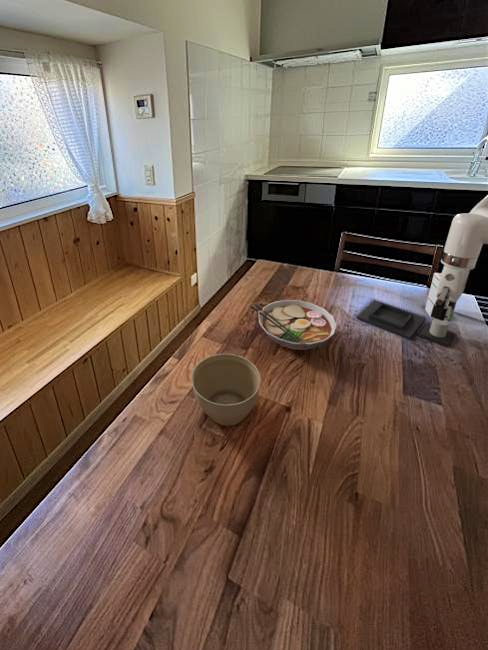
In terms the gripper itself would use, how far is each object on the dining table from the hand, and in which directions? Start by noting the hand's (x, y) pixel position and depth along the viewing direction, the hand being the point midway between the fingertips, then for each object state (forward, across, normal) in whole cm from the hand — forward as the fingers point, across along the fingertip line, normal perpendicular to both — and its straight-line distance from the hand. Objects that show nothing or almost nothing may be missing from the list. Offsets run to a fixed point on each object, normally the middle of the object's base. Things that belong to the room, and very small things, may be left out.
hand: (442, 311), depth 99 cm
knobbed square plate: (+9, 0, 0) cm, 9 cm away
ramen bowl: (+10, -30, +30) cm, 43 cm away
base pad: (+9, 0, +13) cm, 16 cm away
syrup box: (+9, +13, +3) cm, 16 cm away
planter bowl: (+11, -64, +27) cm, 71 cm away
